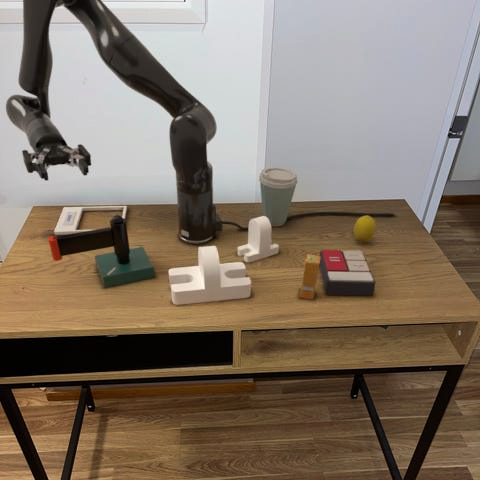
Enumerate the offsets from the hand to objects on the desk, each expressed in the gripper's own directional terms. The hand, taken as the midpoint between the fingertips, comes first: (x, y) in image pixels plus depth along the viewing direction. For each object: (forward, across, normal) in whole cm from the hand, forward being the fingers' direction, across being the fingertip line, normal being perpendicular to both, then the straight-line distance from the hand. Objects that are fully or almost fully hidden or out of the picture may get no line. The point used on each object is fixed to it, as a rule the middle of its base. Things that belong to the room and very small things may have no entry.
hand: (66, 174), depth 110 cm
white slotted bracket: (+28, +23, +18) cm, 41 cm away
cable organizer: (+20, +42, +18) cm, 50 cm away
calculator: (+40, +54, +14) cm, 69 cm away
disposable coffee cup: (+8, +55, +19) cm, 59 cm away
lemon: (+29, +70, +15) cm, 77 cm away
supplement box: (+41, +42, +15) cm, 61 cm away
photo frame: (-16, +10, +25) cm, 31 cm away
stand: (+12, +9, +21) cm, 26 cm away
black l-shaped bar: (+11, +2, +16) cm, 19 cm away
